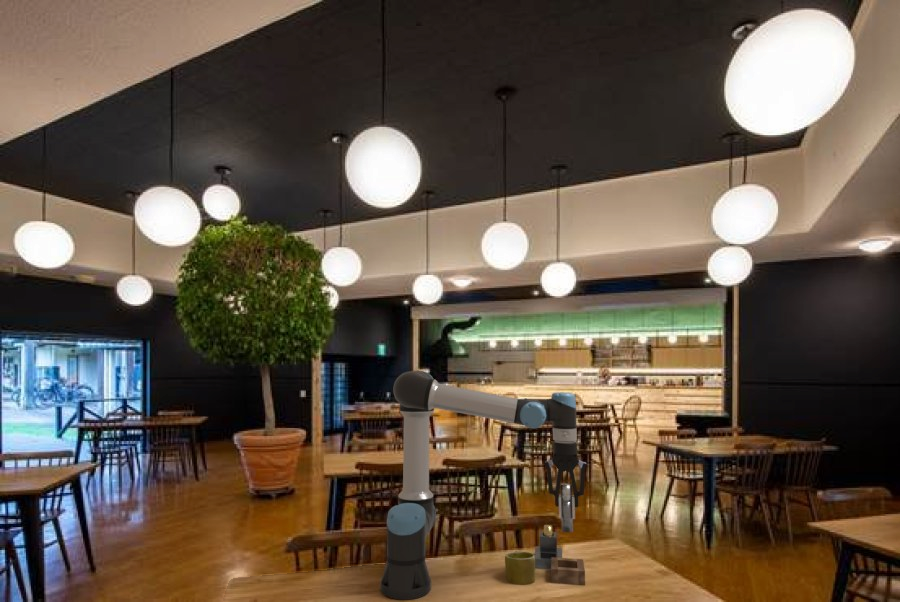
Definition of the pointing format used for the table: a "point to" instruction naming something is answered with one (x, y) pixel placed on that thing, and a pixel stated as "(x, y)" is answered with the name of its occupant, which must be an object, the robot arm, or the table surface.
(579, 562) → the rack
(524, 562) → the mug
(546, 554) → the block
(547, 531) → the yellow capsule
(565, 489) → the brushed metal rod
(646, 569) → the table surface
